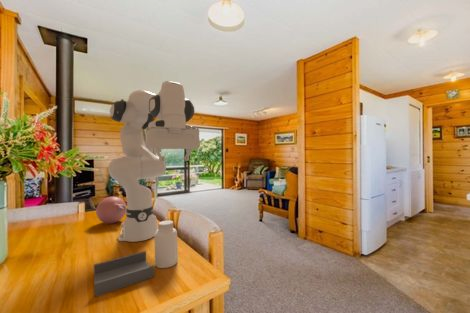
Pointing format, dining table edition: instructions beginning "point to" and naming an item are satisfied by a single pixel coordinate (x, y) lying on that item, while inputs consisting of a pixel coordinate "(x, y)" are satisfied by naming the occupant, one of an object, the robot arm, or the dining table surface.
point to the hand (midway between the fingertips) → (174, 161)
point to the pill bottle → (166, 245)
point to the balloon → (111, 209)
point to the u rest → (121, 272)
